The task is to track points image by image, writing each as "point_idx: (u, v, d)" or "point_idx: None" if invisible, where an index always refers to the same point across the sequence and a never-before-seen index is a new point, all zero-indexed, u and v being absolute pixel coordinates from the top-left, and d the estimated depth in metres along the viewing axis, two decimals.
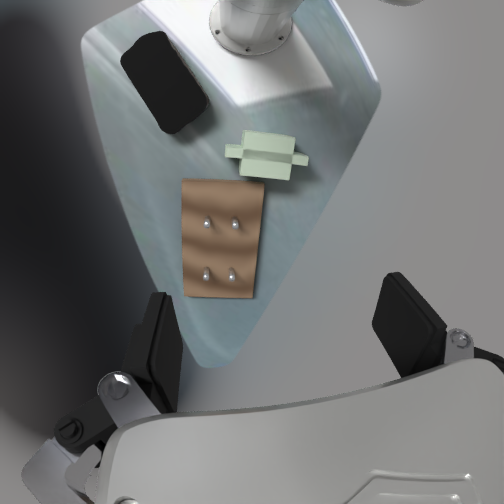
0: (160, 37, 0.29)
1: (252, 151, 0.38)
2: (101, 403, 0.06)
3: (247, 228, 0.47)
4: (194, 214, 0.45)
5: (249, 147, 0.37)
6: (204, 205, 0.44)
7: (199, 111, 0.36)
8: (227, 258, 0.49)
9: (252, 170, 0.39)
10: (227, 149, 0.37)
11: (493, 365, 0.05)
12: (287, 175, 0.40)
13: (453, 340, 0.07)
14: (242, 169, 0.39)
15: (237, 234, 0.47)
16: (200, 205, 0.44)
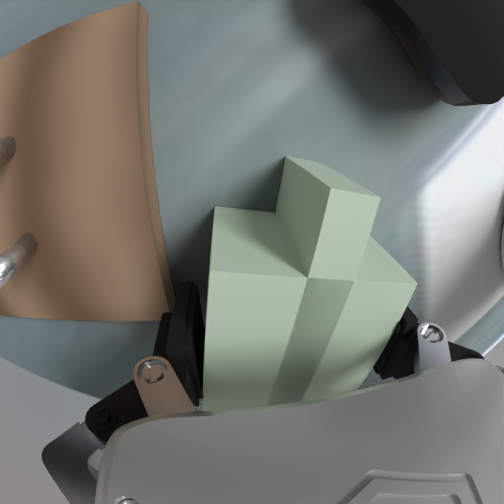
0: None
1: (334, 317, 0.08)
2: (135, 389, 0.07)
3: (25, 286, 0.10)
4: (13, 92, 0.06)
5: (352, 305, 0.08)
6: (43, 118, 0.07)
7: (457, 72, 0.06)
8: None
9: (236, 325, 0.08)
10: (368, 204, 0.06)
11: (493, 365, 0.05)
12: None
13: (425, 335, 0.08)
14: (244, 281, 0.07)
15: None
16: (42, 102, 0.07)
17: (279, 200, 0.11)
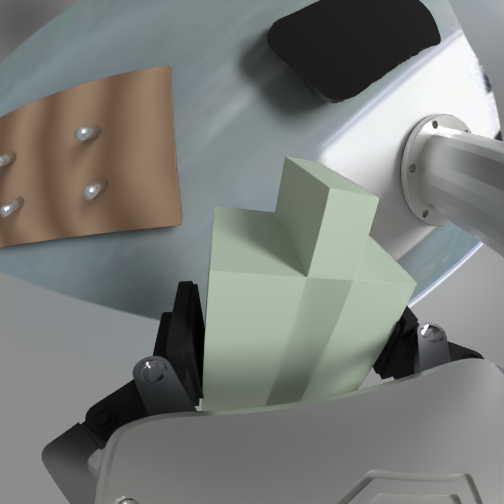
0: (432, 36, 0.15)
1: (333, 316, 0.08)
2: (134, 388, 0.07)
3: (92, 211, 0.21)
4: (100, 102, 0.17)
5: (352, 305, 0.08)
6: (120, 118, 0.18)
7: (322, 87, 0.17)
8: (35, 188, 0.19)
9: (235, 324, 0.08)
10: (367, 204, 0.06)
11: (493, 365, 0.05)
12: None
13: (424, 335, 0.08)
14: (244, 281, 0.07)
15: (77, 195, 0.20)
16: (119, 110, 0.17)
17: (279, 200, 0.11)
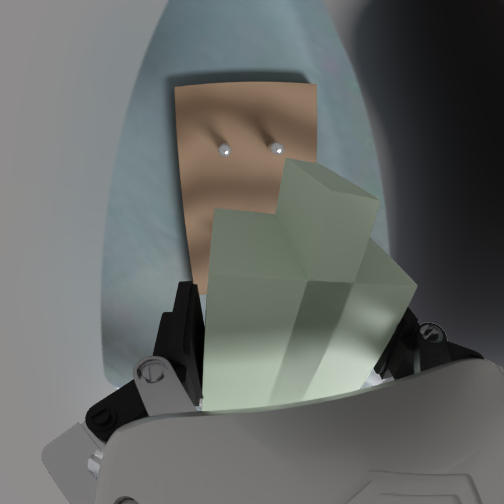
0: None
1: (333, 319, 0.08)
2: (135, 388, 0.07)
3: (206, 230, 0.28)
4: None
5: (352, 307, 0.08)
6: None
7: None
8: (234, 170, 0.25)
9: (235, 327, 0.08)
10: (368, 207, 0.06)
11: (493, 365, 0.05)
12: None
13: (424, 335, 0.08)
14: (244, 284, 0.07)
15: None
16: None
17: (279, 202, 0.11)
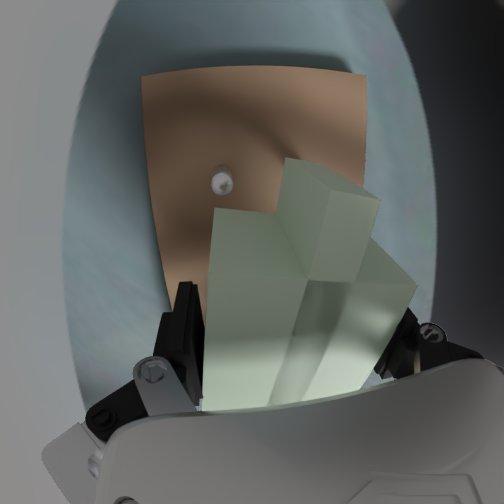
0: None
1: (334, 319, 0.08)
2: (135, 389, 0.07)
3: None
4: None
5: (353, 307, 0.08)
6: None
7: None
8: None
9: (235, 327, 0.08)
10: (368, 206, 0.06)
11: (493, 365, 0.05)
12: None
13: (424, 335, 0.08)
14: (244, 283, 0.07)
15: None
16: None
17: (279, 201, 0.11)
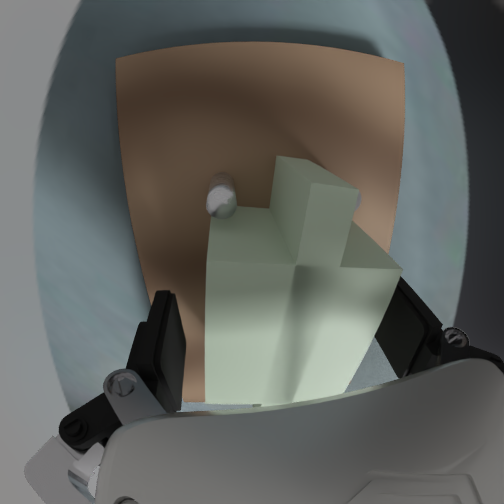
0: None
1: (323, 302, 0.09)
2: (106, 400, 0.07)
3: (193, 330, 0.15)
4: None
5: (340, 290, 0.09)
6: None
7: None
8: None
9: (232, 310, 0.08)
10: (348, 196, 0.07)
11: (493, 365, 0.05)
12: (221, 400, 0.11)
13: (448, 339, 0.07)
14: (238, 269, 0.08)
15: None
16: None
17: (272, 196, 0.12)
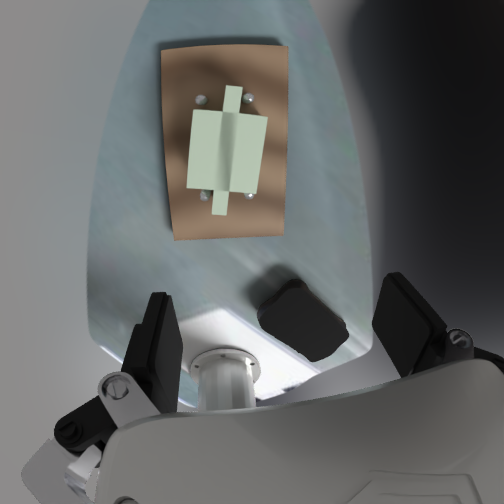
0: (313, 358, 0.43)
1: (234, 127, 0.22)
2: (101, 403, 0.06)
3: (185, 175, 0.29)
4: (267, 190, 0.31)
5: (240, 123, 0.22)
6: (252, 204, 0.31)
7: (265, 315, 0.37)
8: None
9: (200, 129, 0.22)
10: (238, 89, 0.21)
11: (493, 365, 0.05)
12: (194, 184, 0.25)
13: (453, 340, 0.07)
14: (203, 112, 0.21)
15: None
16: (258, 204, 0.31)
17: None
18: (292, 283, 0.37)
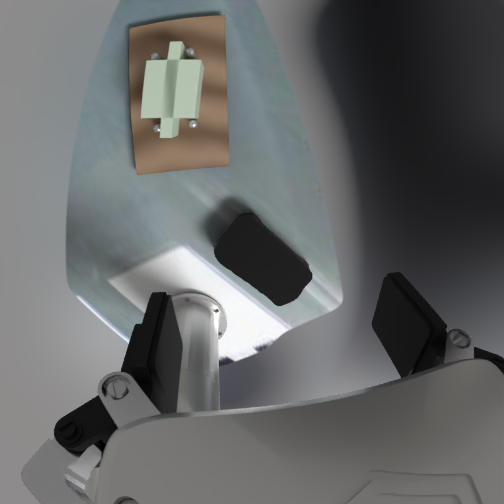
0: (278, 300, 0.45)
1: (176, 69, 0.26)
2: (101, 403, 0.06)
3: (145, 118, 0.32)
4: (212, 126, 0.34)
5: (180, 66, 0.25)
6: (200, 139, 0.34)
7: (219, 246, 0.40)
8: None
9: (151, 73, 0.25)
10: (179, 43, 0.24)
11: (493, 365, 0.05)
12: (146, 115, 0.28)
13: (453, 340, 0.07)
14: (153, 62, 0.25)
15: None
16: (205, 138, 0.34)
17: None
18: (243, 214, 0.40)
